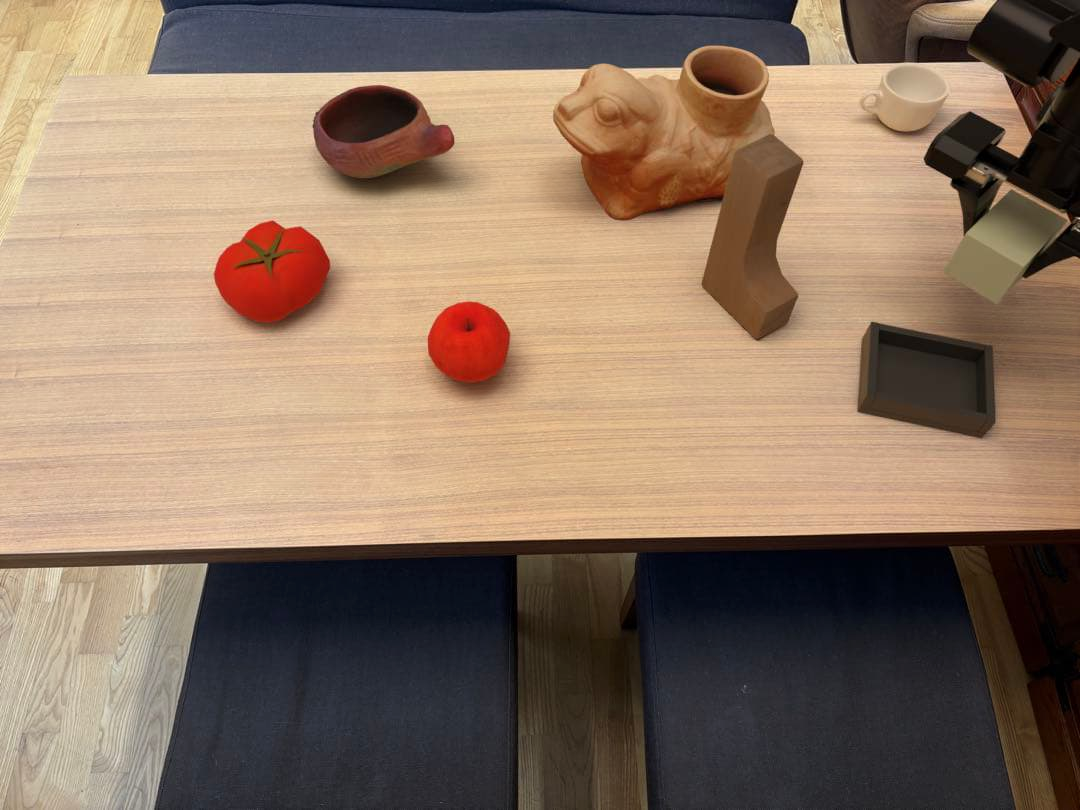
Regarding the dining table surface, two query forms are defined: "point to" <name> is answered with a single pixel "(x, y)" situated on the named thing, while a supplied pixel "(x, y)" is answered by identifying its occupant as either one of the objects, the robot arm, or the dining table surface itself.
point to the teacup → (908, 96)
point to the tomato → (271, 271)
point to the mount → (927, 380)
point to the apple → (469, 342)
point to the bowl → (377, 131)
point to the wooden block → (754, 237)
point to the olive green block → (1003, 245)
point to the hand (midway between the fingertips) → (997, 258)
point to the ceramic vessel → (665, 129)
